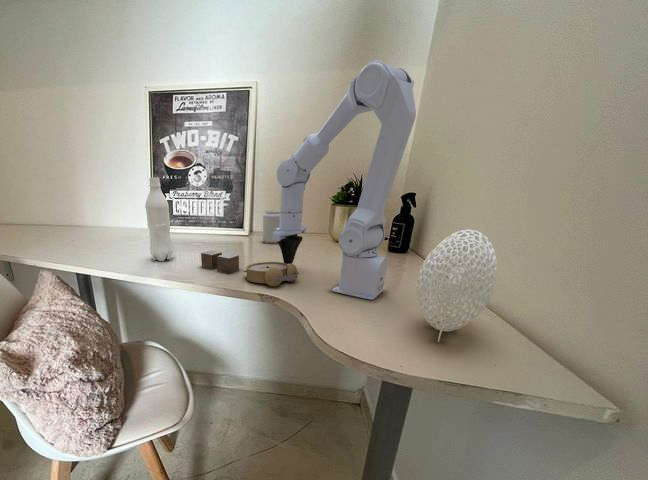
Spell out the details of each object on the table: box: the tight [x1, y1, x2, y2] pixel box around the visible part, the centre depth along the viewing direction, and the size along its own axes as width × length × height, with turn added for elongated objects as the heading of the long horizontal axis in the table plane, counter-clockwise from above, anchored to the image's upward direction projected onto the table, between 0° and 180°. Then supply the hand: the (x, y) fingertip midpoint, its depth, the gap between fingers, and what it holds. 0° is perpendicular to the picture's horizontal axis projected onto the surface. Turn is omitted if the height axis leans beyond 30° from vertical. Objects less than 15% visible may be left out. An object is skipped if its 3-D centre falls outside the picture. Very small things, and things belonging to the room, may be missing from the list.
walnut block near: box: [217, 252, 240, 274], centre depth 96 cm, size 4×4×4 cm
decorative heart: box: [415, 228, 498, 343], centre depth 56 cm, size 18×11×17 cm, turn 141°
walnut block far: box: [200, 250, 223, 271], centre depth 99 cm, size 4×4×4 cm
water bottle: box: [144, 176, 174, 262], centre depth 105 cm, size 7×7×25 cm
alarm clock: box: [242, 261, 300, 287], centre depth 87 cm, size 11×5×15 cm
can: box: [262, 209, 280, 244], centre depth 130 cm, size 8×8×12 cm
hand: (288, 263), depth 92 cm, fingers closed
